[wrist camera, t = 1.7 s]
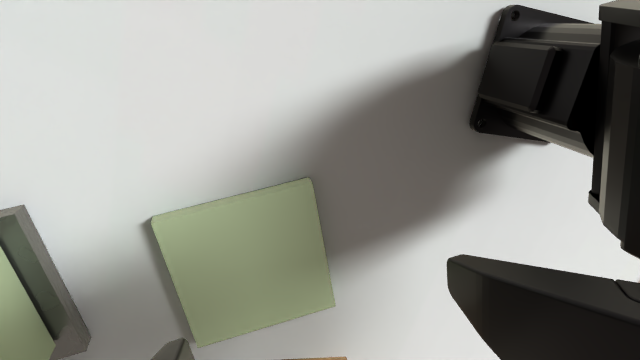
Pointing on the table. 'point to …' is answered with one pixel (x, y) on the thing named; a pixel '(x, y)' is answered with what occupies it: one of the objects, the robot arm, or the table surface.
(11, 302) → the sage key
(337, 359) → the walnut block
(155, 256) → the table surface
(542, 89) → the robot arm
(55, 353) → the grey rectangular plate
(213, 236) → the tile
